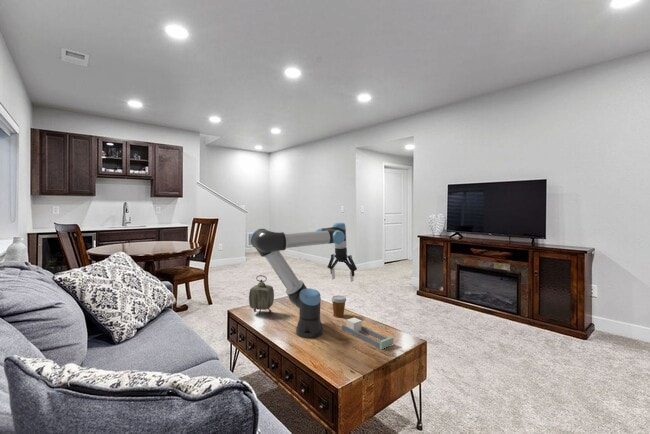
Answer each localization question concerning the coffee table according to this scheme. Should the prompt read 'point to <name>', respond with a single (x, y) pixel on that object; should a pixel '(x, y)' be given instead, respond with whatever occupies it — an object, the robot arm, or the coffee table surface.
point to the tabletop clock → (261, 296)
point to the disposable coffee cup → (338, 305)
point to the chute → (383, 343)
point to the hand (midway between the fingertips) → (342, 280)
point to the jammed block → (354, 324)
